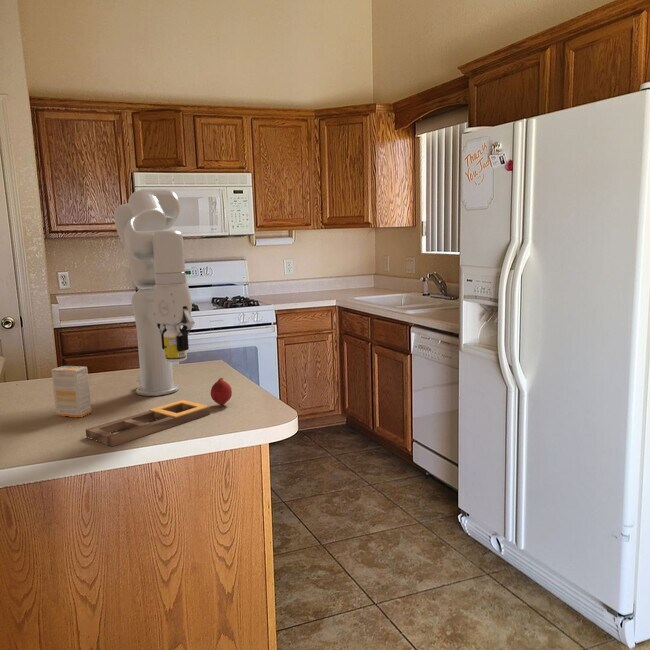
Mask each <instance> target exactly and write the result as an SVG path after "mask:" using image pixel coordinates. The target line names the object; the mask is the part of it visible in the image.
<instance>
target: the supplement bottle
mask: <svg viewBox="0 0 650 650" xmlns="http://www.w3.org/2000/svg"><path fill="white" fill-rule="evenodd" d="M180 323H181V322H180ZM165 325H166V324H165ZM180 327H181V329H182V328H183V326H180ZM166 329H167V331H166V332H165V333H164V347H165V358H166V361H168V362H172V363H175V362H176V363H177V362H183V361H186V360H187V359H188V356H187V350H185V351H180V352H179V351H177V338H176V336H178V333H177V329H176V326H175V325H166Z"/></svg>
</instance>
